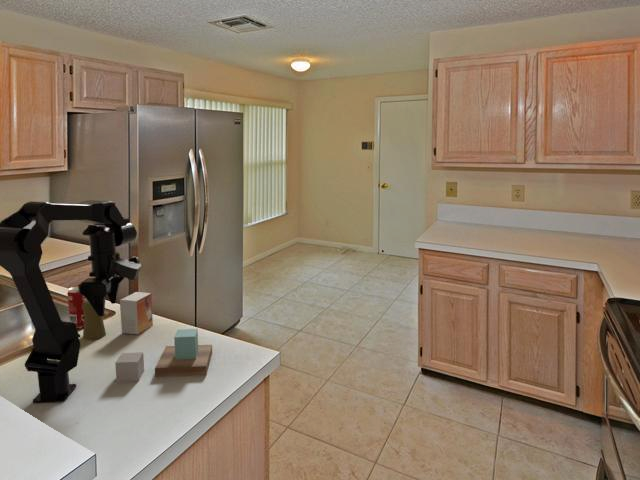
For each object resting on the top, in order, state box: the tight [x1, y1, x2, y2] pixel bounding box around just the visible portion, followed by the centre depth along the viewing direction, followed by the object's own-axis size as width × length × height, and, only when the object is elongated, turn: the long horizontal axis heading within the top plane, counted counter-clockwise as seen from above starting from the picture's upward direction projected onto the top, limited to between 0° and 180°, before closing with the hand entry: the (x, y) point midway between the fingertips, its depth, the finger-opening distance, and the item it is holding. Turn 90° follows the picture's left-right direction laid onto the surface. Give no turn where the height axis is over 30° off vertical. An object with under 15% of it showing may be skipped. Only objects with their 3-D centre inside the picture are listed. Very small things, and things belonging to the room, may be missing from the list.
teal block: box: [173, 328, 199, 360], centre depth 111 cm, size 5×5×6 cm
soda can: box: [67, 285, 87, 329], centre depth 133 cm, size 5×5×12 cm
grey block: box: [114, 351, 145, 383], centre depth 105 cm, size 5×5×5 cm
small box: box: [119, 291, 154, 335], centre depth 132 cm, size 8×6×10 cm
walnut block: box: [154, 344, 213, 378], centre depth 112 cm, size 12×12×3 cm
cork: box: [82, 300, 107, 341], centre depth 126 cm, size 6×6×11 cm
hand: (107, 309), depth 113 cm, fingers open, 9 cm apart
